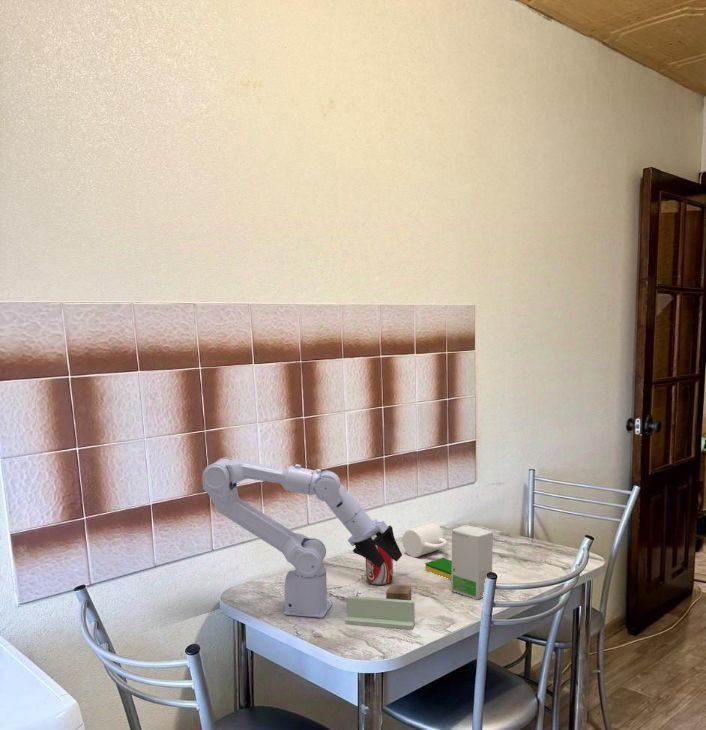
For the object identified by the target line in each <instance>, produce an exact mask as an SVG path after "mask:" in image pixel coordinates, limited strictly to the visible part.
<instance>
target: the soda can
mask: <svg viewBox="0 0 706 730" xmlns="http://www.w3.org/2000/svg"><path fill="white" fill-rule="evenodd" d="M376 537H377V536H376V535H375V536H372V540H374V539H375V538H376ZM375 546H376V548H377V550H378V551H379V552H380V554H381V555H382V557H383V558H384V560H385V562H384V563H383V564H382V566H381V567H377V566H376V565H374V564H373V563H372V562H370V561H369V560H368V559H366V558H365V575H366V581H368V582H369V583H370V584H371V585H375V586H383V585H387V584H389V583H391V582H392V581H393V578H394V577H393V575H394V560H393V559H392V558H391V557H390V556H389V555H388V554H387V553H386V552H385V551H384V550H383V549H381V548H380V547H378V546H377V545H375Z"/></svg>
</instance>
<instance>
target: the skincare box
mask: <svg viewBox="0 0 706 730" xmlns="http://www.w3.org/2000/svg"><path fill="white" fill-rule="evenodd" d="M493 539H494V532H493V531H490V530H487V529H483V528H481V527H476V526H472V525H468V524H464V525H461V526H459V527H455V528H454V529H452V530H451V561H452V574H451V575H452V576H451V580H450V581H451V582H450V587H451V588H450V590H451V592H454V593H456V592H457V593H456V594H459V593H460V594H459V595H462V594H463V596H465V595H466V596H465V597H468V596H469V597H468V598H471V597H472V598H471V599H473V598H476V599H479V600H481V599H483V598H482V596H483V592H484V583H485V579H486V574H487V573H489V572H492V573H493V547H494V546H493V544H494V542H493V541H494V540H493ZM480 598H481V599H480ZM476 599H475V600H476Z"/></svg>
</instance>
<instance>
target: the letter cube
mask: <svg viewBox="0 0 706 730" xmlns="http://www.w3.org/2000/svg"><path fill="white" fill-rule="evenodd" d="M385 593H386V597H385V599H397V600H411V601H412V585H404V584H389V586H388V588H387V590H386V592H385Z"/></svg>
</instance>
